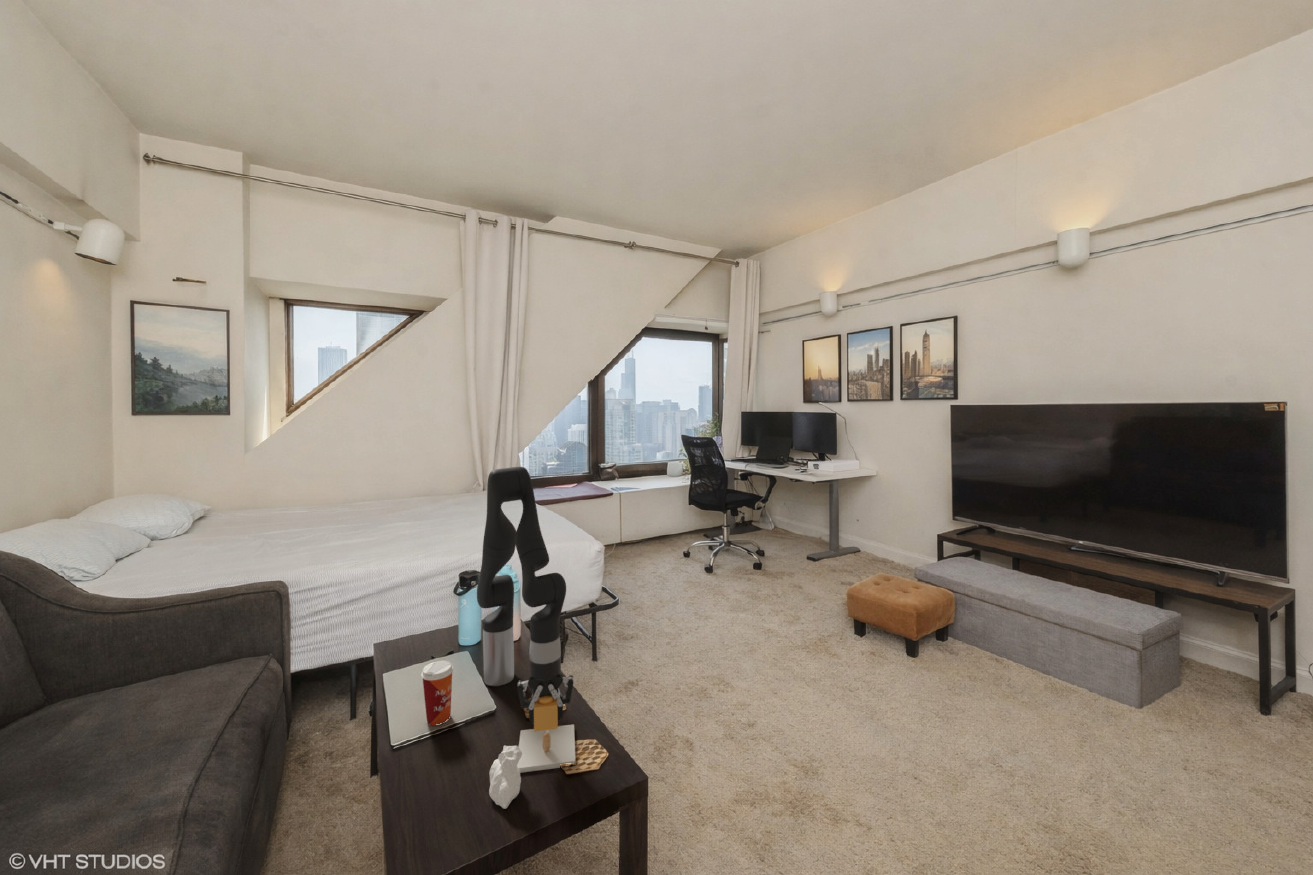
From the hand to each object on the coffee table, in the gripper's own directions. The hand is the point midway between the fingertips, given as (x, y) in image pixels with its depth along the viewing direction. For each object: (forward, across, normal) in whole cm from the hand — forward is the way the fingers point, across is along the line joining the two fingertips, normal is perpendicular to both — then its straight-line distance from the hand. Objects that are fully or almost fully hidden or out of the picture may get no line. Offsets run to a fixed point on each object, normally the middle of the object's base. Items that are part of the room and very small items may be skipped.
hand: (546, 719), depth 124 cm
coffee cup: (+9, +30, -20) cm, 37 cm away
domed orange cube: (+1, 0, 0) cm, 1 cm away
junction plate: (+9, 0, -2) cm, 10 cm away
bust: (+10, +9, +11) cm, 17 cm away
